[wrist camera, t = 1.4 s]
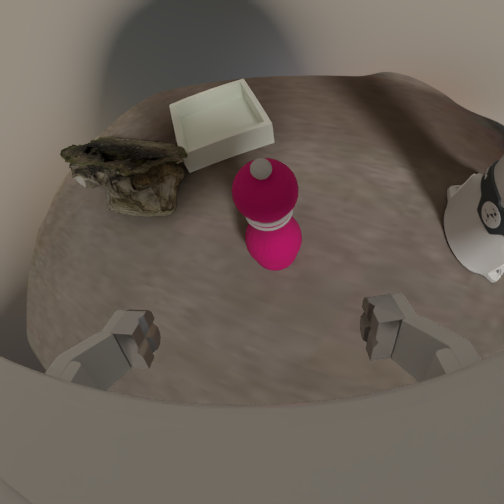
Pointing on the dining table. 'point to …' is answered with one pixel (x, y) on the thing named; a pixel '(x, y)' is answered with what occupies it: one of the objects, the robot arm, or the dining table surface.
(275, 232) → the pepper mill
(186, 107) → the tray
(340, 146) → the dining table surface
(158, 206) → the hollow geode rock
